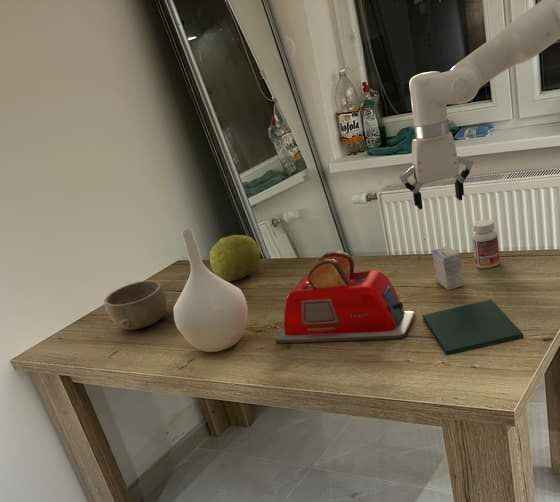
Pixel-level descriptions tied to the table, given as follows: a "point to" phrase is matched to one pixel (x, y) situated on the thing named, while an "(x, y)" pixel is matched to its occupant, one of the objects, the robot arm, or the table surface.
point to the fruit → (234, 257)
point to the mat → (471, 327)
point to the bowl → (136, 304)
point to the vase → (208, 306)
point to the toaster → (343, 305)
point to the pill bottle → (485, 244)
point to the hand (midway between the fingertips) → (439, 203)
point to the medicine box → (447, 267)
